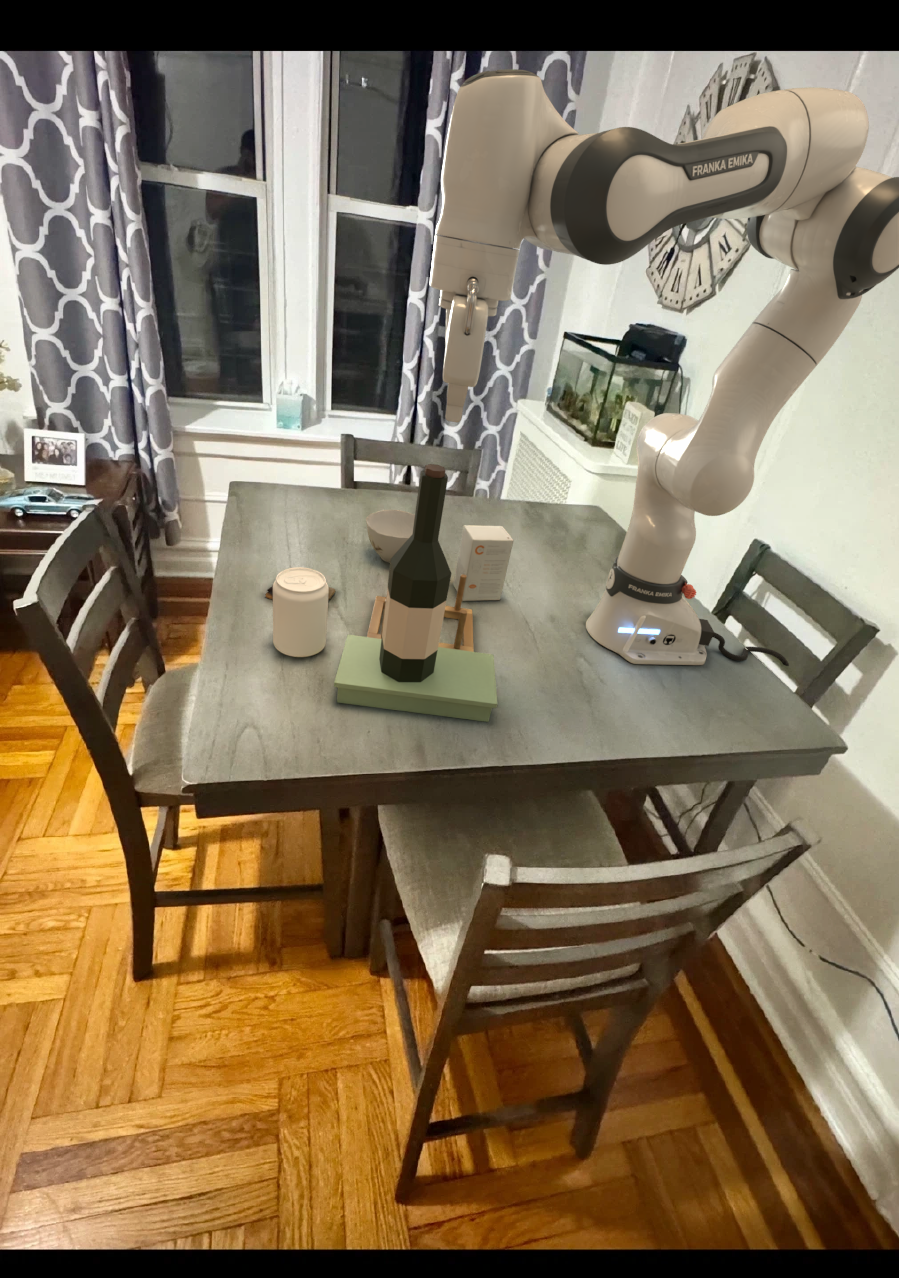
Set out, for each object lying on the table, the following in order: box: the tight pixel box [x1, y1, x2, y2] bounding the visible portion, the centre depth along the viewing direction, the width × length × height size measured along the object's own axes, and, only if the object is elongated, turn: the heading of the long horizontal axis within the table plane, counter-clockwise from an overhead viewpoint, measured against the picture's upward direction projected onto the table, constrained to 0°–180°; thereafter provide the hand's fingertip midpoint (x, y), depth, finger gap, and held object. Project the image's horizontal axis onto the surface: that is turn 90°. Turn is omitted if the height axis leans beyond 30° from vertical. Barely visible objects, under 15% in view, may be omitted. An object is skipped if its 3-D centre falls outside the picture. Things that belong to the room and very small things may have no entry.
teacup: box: [365, 509, 415, 564], centre depth 123 cm, size 15×12×8 cm
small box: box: [452, 524, 515, 602], centre depth 115 cm, size 8×6×13 cm
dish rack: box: [366, 574, 475, 652], centre depth 102 cm, size 18×14×9 cm
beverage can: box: [272, 566, 330, 658], centre depth 92 cm, size 8×8×12 cm
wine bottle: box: [379, 463, 452, 682], centre depth 80 cm, size 8×8×30 cm
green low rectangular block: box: [333, 634, 498, 723], centre depth 90 cm, size 23×12×4 cm, turn 89°
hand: (453, 409), depth 71 cm, fingers open, 8 cm apart
